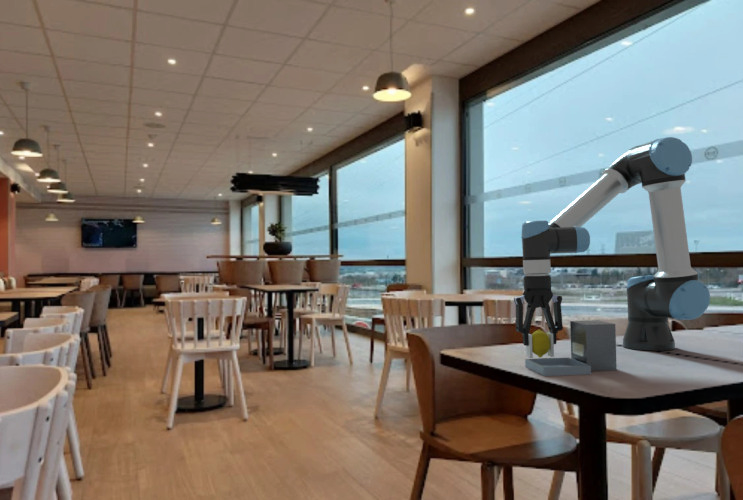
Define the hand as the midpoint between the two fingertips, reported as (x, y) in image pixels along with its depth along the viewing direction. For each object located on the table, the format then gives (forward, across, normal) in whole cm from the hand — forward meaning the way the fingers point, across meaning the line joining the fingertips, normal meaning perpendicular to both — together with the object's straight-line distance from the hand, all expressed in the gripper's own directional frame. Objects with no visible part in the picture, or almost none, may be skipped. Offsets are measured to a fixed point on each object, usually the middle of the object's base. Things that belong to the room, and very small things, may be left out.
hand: (540, 356), depth 156 cm
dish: (+2, 0, +12) cm, 12 cm away
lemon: (+1, 0, 0) cm, 1 cm away
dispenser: (+2, -10, +10) cm, 15 cm away
